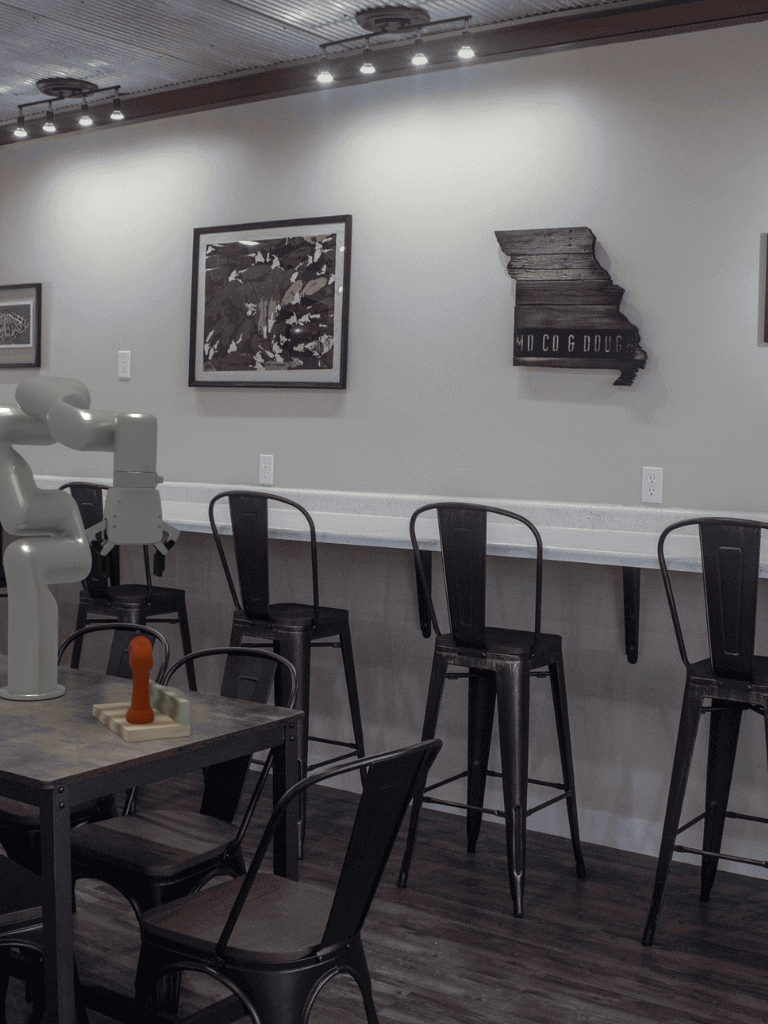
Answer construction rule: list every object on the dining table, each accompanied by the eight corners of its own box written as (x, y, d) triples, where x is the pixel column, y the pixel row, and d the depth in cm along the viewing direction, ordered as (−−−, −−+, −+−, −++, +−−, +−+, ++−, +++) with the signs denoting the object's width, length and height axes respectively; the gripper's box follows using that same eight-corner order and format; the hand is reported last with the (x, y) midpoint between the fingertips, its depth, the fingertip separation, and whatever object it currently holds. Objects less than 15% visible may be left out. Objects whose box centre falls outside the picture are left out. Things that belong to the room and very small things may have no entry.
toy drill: (149, 693, 208) (151, 616, 206) (155, 728, 191) (157, 645, 188) (122, 693, 207) (124, 616, 205) (126, 729, 189) (128, 646, 187)
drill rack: (92, 715, 204) (93, 683, 204) (149, 709, 210) (150, 678, 209) (127, 742, 185) (128, 707, 185) (190, 735, 191) (190, 701, 190)
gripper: (173, 481, 204) (170, 573, 205) (80, 479, 195) (78, 575, 196) (187, 483, 197) (184, 578, 199) (92, 481, 189) (89, 580, 190)
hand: (131, 576), depth 197 cm, fingers open, 9 cm apart
